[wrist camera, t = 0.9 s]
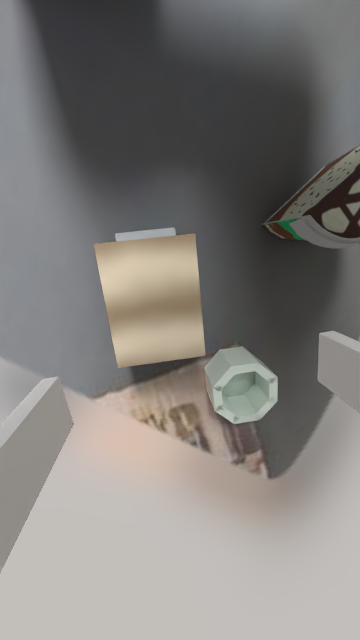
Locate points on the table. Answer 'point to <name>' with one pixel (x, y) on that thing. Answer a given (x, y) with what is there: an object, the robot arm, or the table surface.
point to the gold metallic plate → (152, 298)
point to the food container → (324, 206)
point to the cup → (240, 385)
